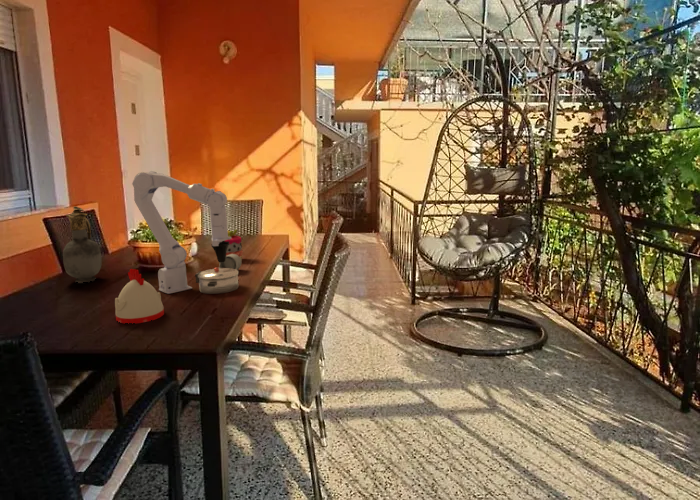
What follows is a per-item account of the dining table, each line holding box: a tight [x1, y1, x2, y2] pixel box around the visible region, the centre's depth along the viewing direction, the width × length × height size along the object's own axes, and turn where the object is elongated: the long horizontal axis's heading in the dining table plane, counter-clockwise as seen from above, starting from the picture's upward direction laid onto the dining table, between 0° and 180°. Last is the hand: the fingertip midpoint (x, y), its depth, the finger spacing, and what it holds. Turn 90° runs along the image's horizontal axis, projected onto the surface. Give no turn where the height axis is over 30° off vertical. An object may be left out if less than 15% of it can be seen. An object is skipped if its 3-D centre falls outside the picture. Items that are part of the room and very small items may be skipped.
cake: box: [225, 228, 244, 262], centre depth 225 cm, size 10×11×15 cm
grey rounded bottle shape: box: [62, 206, 102, 284], centre depth 193 cm, size 11×19×30 cm, turn 10°
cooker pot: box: [195, 274, 239, 295], centre depth 179 cm, size 15×20×5 cm
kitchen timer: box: [114, 268, 165, 325], centre depth 149 cm, size 14×14×15 cm
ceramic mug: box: [218, 254, 242, 271], centre depth 205 cm, size 11×8×8 cm
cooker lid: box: [194, 266, 239, 280], centre depth 179 cm, size 15×15×2 cm
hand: (221, 261), depth 178 cm, fingers closed
